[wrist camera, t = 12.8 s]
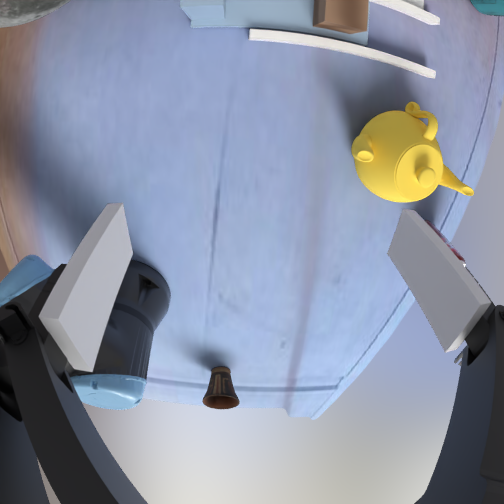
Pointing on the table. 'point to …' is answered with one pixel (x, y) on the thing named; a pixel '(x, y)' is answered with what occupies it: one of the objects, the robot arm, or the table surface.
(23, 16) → the decorative sphere
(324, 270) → the table surface
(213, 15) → the pale blue stepped slab
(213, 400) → the cup
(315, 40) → the lane bed
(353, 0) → the walnut block
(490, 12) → the beverage bottle
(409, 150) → the teapot
